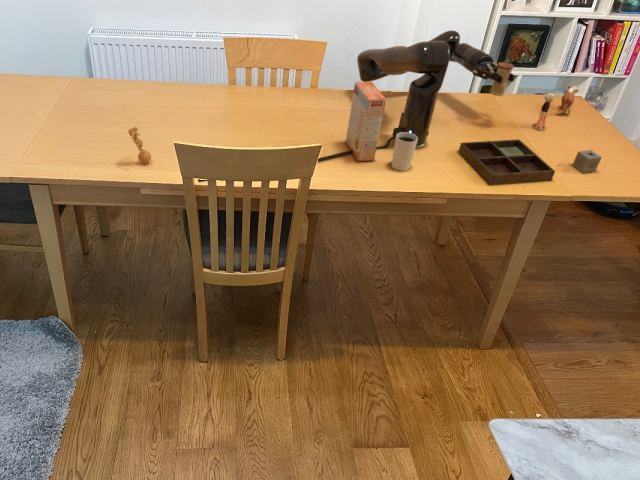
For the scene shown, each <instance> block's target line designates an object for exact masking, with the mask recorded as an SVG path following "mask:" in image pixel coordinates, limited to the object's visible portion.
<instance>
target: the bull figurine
mask: <svg viewBox="0 0 640 480" xmlns="http://www.w3.org/2000/svg"><path fill="white" fill-rule="evenodd" d="M567 87H568V89H567V90H566V91H564V93H563V95H562V97H561V103H560V105H559V110H558V112H557V115H561V112H562V111H563V109H564V110H565V112H564V115H568V113H569V112H568V111H570V107H571V106H573V104H574V101H575V94H577V93H578V92H579V89H578V87H577V86H575V85H573V86H571V85H568V86H567Z"/></svg>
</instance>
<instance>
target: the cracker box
mask: <svg viewBox="0 0 640 480" xmlns="http://www.w3.org/2000/svg"><path fill="white" fill-rule="evenodd" d="M351 99H352V100H351V106H350V111H349V112H350V113H349V118H348V125H347V130H346V136H345V143H346V145H347V147H348V149H350V150H353V153H352V155H353V156H354V157H355V159H356V161H357V162H371V161H375V158H376V157H375V156H376V151H377V149H376V147H378V141H379V137H380V132H381V127H382V121H383V117H384V112H385V107H386V101H387V99H386V97H385V96H384V94H383V93H381V91H380V89H378V88H377V86H376V85H375V84H374V82H373V81H368V82H363V81H354V88H353V93H352V98H351Z"/></svg>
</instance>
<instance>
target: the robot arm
mask: <svg viewBox="0 0 640 480" xmlns="http://www.w3.org/2000/svg"><path fill="white" fill-rule="evenodd" d="M460 40H461V36H460V33H459V32H458V31H456V30H447V31H444V32H442V33H440V34H439V35H437V36H436V37H433V38H432V39H430V40H429V41H428V40H427V41H420V42H416V43H413V44H411V45H408V46H405V45H395V46H390V47H386V48H370V49H366V50H363V51H361V52H360V53H359V54H358V55H357V57H356V60H357V61H356V62H357V63H356V64H357V69H358V75H359V80H360V82H368V81H369V82H374V81H377V80H380V79H383V78H385V77H388V76H401V75H405V74H407V73H414V74H419V75H420V74H421V76H420V77H418V78H416V79H414V80H412V81H411V82H410V84H409V87H408V92H407V97H406V100H405V106H404V110H403V112H401V113H400V117H399V121H398V126H397V127H394V128H393V130H392V136H391V137H390V138H389V139H388V140H387V141H386V144H384V145H382V146H377V147H376V150H383V149H386V148H388V147H389V146H390V143H391V142H392V141H393V140H396V135H397V134H398V133H401V132H408V133H412V134H414V135H416V136H417V137H418V140H417V144H416V147H415V149H421V148H423V147H425V146H426V145H427V141H428V140H427V139H428V136H429V134H430V127H431V124H432V119H433V116H434V111H435V107H436V103H437V99H438V95H439V92H440V90H441V88H443V87H442V86H443V83H444V79H445V76H446V73H447V71H448V67H449V64H450V62H451V63H457V64H459V65H460V66H461V67H463V68H464V69H465V70H466V71H468V72H470V73H472V75H473V76H475V77H478V78H481V79H483V80H490V81H493V82H494V81H496V82H498V83H502V80H503V77H502V76H501V75H499V74H497V73H496V72H497V69H498V63H497V62H495V61H494V58H493V57H492V55H490V54H489V53H486V52H485V51H482V50H481V49H479V48H477V47H474V46H472V45H470V44H469V43H466V42H461V41H460ZM512 71H513V69H512V70H511V73H510V76H509V79H508V81H509V82H511V83H513V82H514V81H515V78H516V75H515V74H513V73H512ZM422 74H423V75H422ZM350 154H353V150H351V149H350V150H347V151H343V152H338V153H334V154H330V155H326V156H322V157H318V158H319V159H318V161H317V162H321V161H325V160H329V159H330V160H331V159H333V158H337V157H341V156H345V155H350ZM200 179H201V178H198V179H197V182H198V183H203V182H208V181H207V180H200Z"/></svg>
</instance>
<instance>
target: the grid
mask: <svg viewBox="0 0 640 480" xmlns="http://www.w3.org/2000/svg"><path fill="white" fill-rule="evenodd" d="M458 153H459V154H460V155H461V156H462V157H463V158H464V160H465V161H466V162H467V163H468V164H469V165H470V166H471V167H472V168H473V169H474V170H475V171H476V172H477V173H478V174H479V175H480V178H482V179H483V180H484V181H485V182H486V183H487V184H488V185H489V186H493V185H494V186H495V185H506V184H509V185H510V184H521V183H533V182H548V181H552V180H553V178H554V175H555V173H556V170H555V169H554V168H553V167H551V166H550V165H549V163H546V161H544V160H543V159H542V158H541V157H540V156H539V155H538V154H536V153H535V152H534V151H533V150H532V149H531V148H530V147H529V146H527V144H525V143H524V142H523V141H522V140H521V139H518V138H517V139H504V140H503V139H502V140H487V141H486V140H484V141H469V142H460V145H459V148H458Z"/></svg>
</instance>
